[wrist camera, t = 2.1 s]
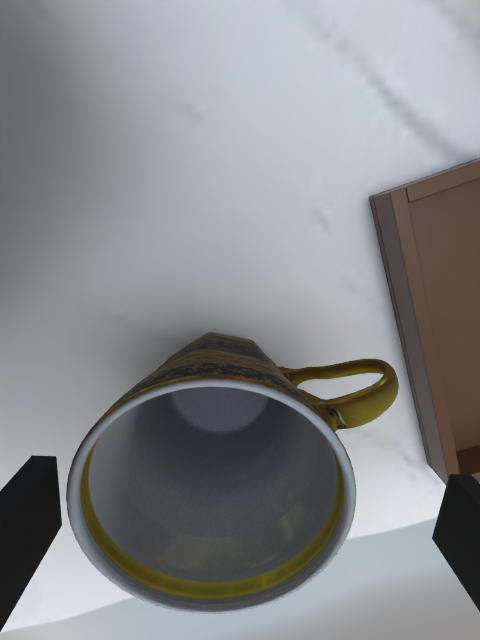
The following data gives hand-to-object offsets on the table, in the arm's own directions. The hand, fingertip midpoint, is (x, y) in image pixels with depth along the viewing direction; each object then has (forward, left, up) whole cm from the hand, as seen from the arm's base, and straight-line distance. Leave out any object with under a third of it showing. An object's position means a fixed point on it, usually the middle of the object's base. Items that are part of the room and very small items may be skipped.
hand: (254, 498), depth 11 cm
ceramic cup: (0, 0, -10) cm, 10 cm away
